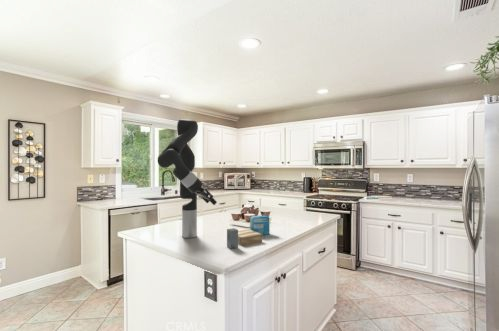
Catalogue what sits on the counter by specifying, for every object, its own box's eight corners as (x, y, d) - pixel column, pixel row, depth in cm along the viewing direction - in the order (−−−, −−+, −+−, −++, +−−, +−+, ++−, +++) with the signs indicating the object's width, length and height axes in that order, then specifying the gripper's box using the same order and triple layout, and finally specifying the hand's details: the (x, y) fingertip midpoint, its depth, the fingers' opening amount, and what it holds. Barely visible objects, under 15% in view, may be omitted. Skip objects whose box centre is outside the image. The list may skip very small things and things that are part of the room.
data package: (252, 236, 172) (252, 217, 172) (250, 234, 176) (250, 216, 176) (269, 234, 176) (269, 216, 176) (267, 232, 180) (267, 215, 180)
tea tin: (226, 247, 148) (227, 229, 148) (234, 245, 151) (234, 228, 151) (230, 249, 144) (230, 230, 144) (238, 247, 147) (238, 229, 147)
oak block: (229, 240, 162) (229, 232, 162) (249, 237, 170) (249, 229, 170) (241, 246, 151) (241, 237, 151) (261, 242, 158) (261, 234, 158)
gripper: (201, 176, 130) (222, 198, 136) (191, 176, 142) (210, 196, 148) (191, 188, 127) (213, 210, 133) (181, 186, 139) (201, 206, 145)
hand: (211, 202), depth 141 cm, fingers open, 8 cm apart
